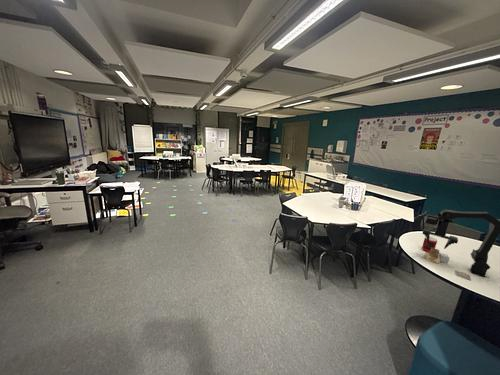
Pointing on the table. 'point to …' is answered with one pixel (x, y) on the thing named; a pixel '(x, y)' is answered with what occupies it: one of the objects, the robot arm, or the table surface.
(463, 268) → the table surface
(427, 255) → the oak base
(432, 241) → the canned food
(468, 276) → the card
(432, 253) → the walnut block
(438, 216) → the robot arm
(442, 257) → the grey block
